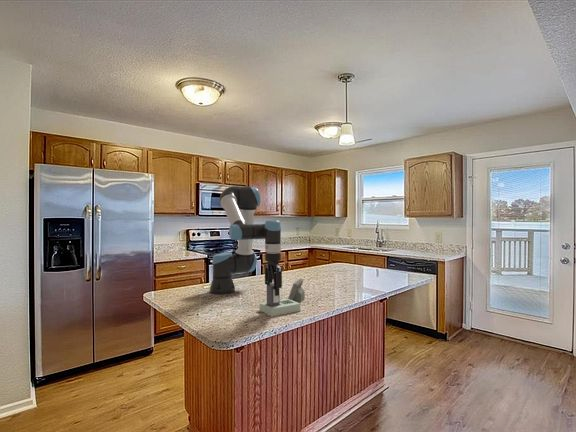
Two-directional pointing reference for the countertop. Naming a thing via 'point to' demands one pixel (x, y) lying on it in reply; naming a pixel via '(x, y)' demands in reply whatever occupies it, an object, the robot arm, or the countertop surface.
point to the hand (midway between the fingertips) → (273, 300)
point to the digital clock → (297, 291)
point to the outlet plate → (280, 307)
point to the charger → (271, 296)
